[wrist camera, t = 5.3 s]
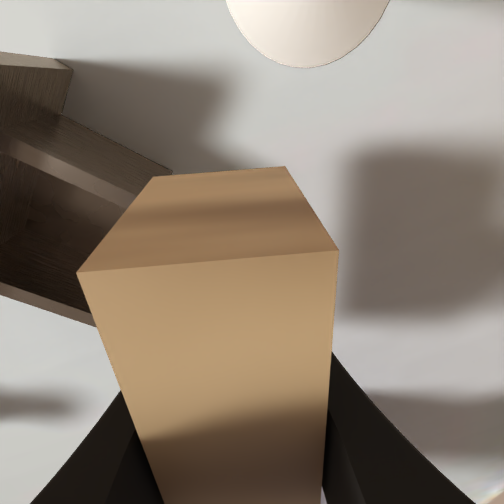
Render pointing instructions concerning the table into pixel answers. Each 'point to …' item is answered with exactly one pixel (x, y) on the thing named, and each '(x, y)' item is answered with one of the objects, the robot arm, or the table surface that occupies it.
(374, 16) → the champagne flute
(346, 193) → the table surface
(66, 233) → the bracket
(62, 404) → the table surface
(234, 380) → the wooden block
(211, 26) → the table surface
